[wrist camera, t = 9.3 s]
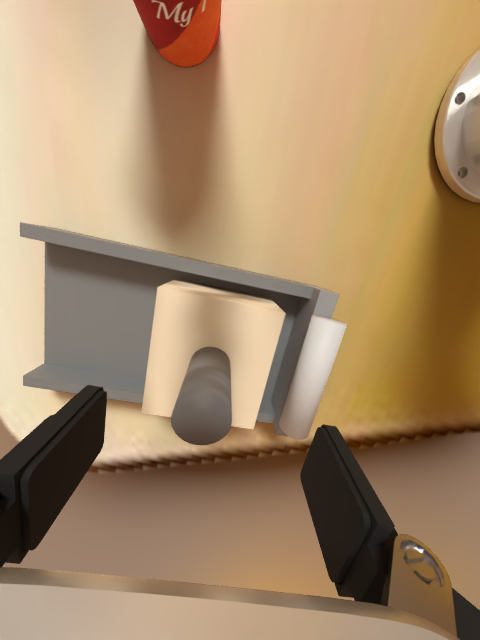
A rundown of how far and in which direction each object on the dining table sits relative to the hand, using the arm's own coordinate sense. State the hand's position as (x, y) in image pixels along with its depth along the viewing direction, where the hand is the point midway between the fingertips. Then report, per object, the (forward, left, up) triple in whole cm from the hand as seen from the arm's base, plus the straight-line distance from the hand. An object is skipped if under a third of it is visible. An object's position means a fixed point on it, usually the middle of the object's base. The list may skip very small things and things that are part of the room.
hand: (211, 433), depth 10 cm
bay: (+4, +1, -15) cm, 15 cm away
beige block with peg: (0, +1, -13) cm, 13 cm away
